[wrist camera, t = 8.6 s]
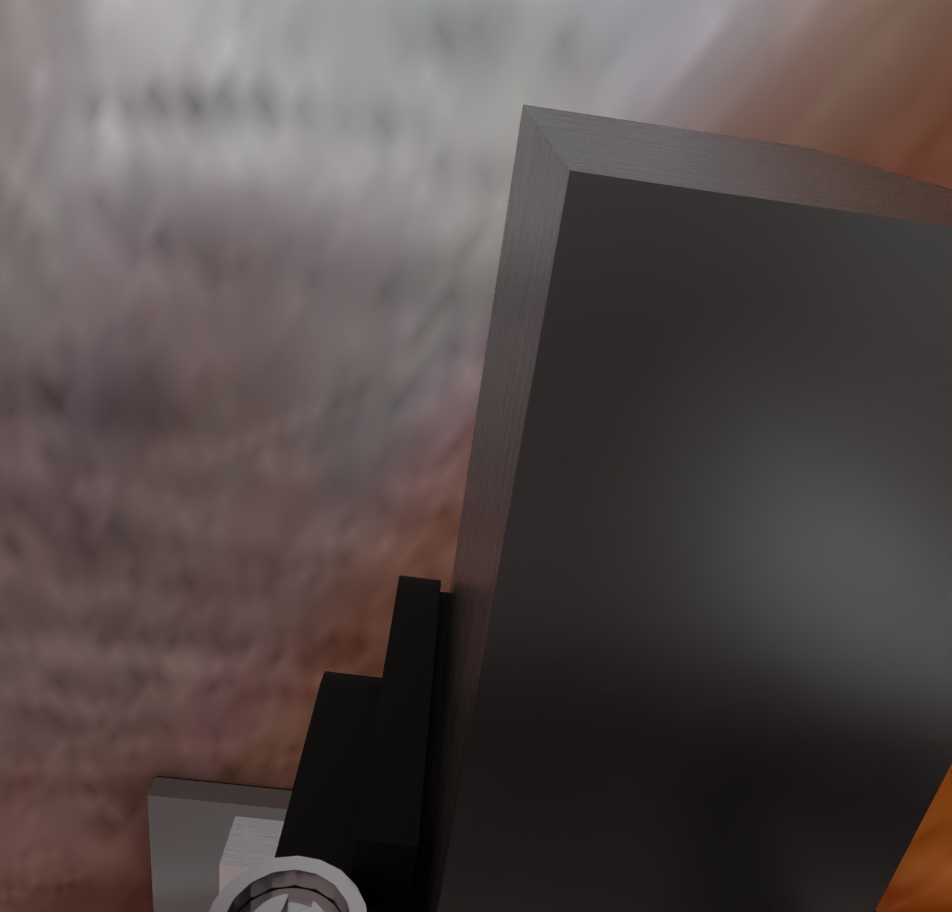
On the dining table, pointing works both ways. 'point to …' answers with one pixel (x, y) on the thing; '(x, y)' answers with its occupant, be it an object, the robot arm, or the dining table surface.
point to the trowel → (697, 535)
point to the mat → (198, 836)
